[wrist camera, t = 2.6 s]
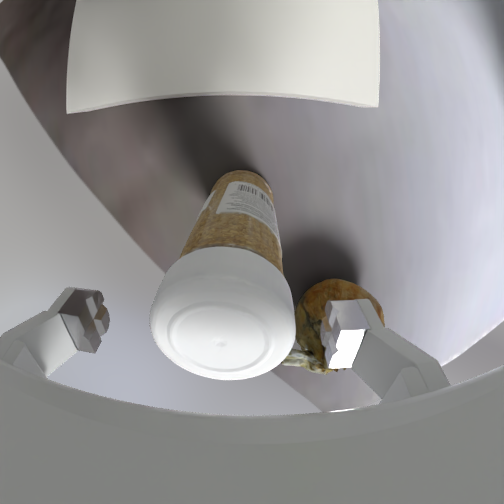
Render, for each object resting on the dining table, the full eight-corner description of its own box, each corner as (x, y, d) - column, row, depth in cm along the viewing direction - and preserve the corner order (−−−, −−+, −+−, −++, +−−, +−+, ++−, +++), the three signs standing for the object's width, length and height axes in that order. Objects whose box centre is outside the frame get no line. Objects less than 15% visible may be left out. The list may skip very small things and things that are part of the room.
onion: (323, 341, 26) (337, 407, 19) (269, 301, 24) (272, 375, 17) (383, 298, 24) (415, 361, 17) (336, 246, 21) (368, 312, 14)
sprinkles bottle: (198, 194, 19) (118, 325, 8) (248, 156, 18) (228, 246, 6) (237, 239, 21) (215, 397, 9) (286, 205, 20) (324, 352, 8)
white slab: (359, -20, 10) (390, -53, 5) (361, 107, 16) (401, 107, 11) (99, -9, 10) (59, -30, 5) (89, 111, 16) (38, 118, 11)
